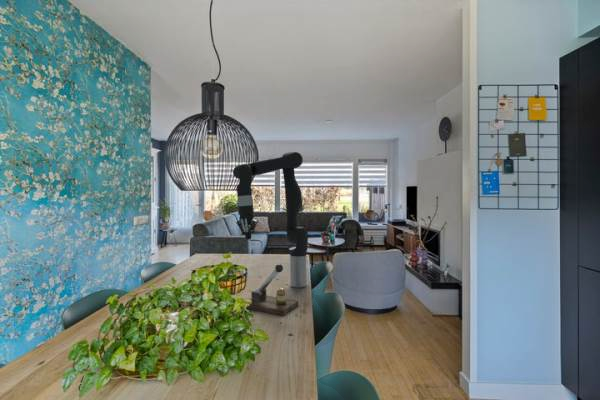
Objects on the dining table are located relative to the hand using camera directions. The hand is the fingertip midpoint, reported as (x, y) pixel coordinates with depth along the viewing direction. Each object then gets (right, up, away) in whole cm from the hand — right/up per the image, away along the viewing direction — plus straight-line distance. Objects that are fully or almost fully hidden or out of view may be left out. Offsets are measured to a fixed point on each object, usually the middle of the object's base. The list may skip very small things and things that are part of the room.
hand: (248, 239), depth 155 cm
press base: (+12, -29, -13) cm, 34 cm away
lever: (+6, -25, -9) cm, 27 cm away
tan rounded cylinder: (+17, -27, -15) cm, 36 cm away
